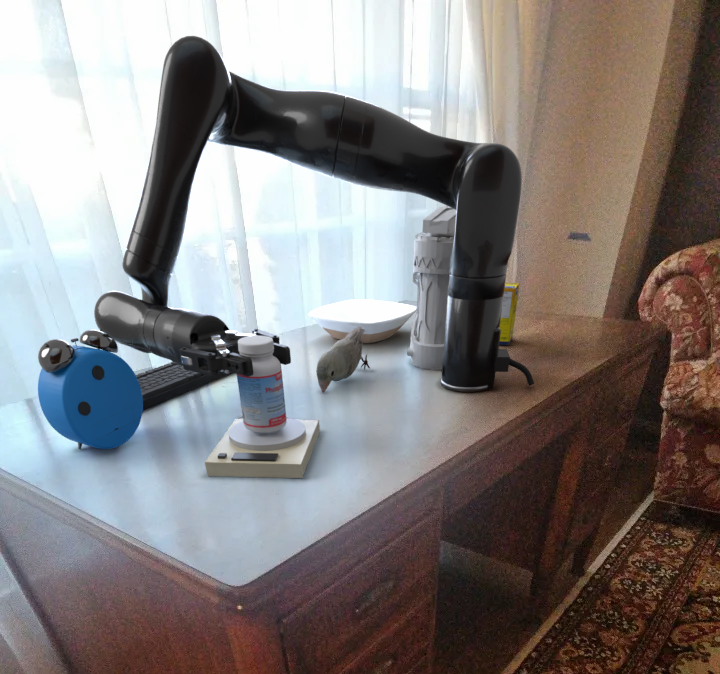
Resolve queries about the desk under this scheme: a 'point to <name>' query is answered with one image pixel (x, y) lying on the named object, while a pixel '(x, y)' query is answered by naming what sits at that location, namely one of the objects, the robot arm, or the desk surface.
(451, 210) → the lantern
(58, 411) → the alarm clock
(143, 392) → the keyboard
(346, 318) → the bowl
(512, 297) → the supplement box
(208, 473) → the scale
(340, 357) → the decorative bird
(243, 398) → the pill bottle
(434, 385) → the desk surface
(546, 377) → the desk surface
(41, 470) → the desk surface
